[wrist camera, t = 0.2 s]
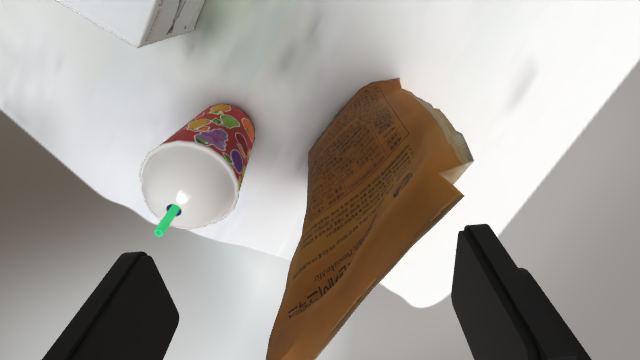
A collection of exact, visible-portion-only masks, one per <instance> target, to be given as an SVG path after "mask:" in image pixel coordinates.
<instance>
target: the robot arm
mask: <svg viewBox="0 0 640 360" xmlns="http://www.w3.org/2000/svg"><path fill="white" fill-rule="evenodd" d="M451 297H452V304H453V307H454V310H455V312H456V315H457V317H458V319H459V322H460V324H461V327H462V330H463V332H464V334H465V337H466V339H467V342H468V344H469V347H470V350H471V352H472V355H473V357H474V359H475V360H591V359H590V357H589V355H588V354H587V352H586V351H585V350H584V348H583V347H582V346H581V344H580V343H579V341H578V340H577V338H576V337H575V336H574V334H573V333H572V331H571V330H570V329H569V327H568V326H567V324H566V323H565V322H564V321H563V319H562V317H561V316H560V315H559V313H558V312H557V310H556V309H555V307H554V306H553V305H552V303H551V302H550V300H549V299H548V298H547V296H546V295H545V293H544V292H543V291H542V289H541V288H540V286H539V285H538V284H537V282H536V281H535V280H534V278H533V277H532V275H531V274H530V273H529V272H528V271H527V270H526V269H524V268H518V267H517V266H516V265H515V263H514V262H513V260H512V259H511V257H510V256H509V254H508V253H507V251H506V250H505V248H504V247H503V245H502V244H501V243H500V241H499V240H498V238H497V237H496V235H495V234H494V232H493V231H492V229H491V228H490V226H489V225H487V224H479V225H467V226H465V228H464V231H459V233H458V240H457V249H456V258H455V267H454V275H453V284H452V293H451ZM178 322H179V313H178V311H177V309H176V307H175V304H174V303H173V300H172V298H171V296H170V294H169V292H168V290H167V288H166V286H165V284H164V281H163V279H162V277H161V275H160V273H159V271H158V269H157V267H156V265H155V263H154V261H153V259H152V257H151V256H148V255H147V254H146V253H145V252H130V253H124V254H122V255H121V256H120V257H119V258H118V260H117V261H116V262H115V263H114V265H113V266H112V267H111V269H110V270H109V271H108V273H107V274H106V275H105V277H104V278H103V280H102V281H101V282H100V283H99V285H98V286H97V287H96V289H95V290H94V292H93V293H92V294H91V295H90V297H89V298H88V299H87V301H86V302H85V303H84V305H83V306H82V307H81V308H80V310H79V311H78V312H77V314H76V315H75V317H74V318H73V319H72V320H71V322H70V323H69V324H68V326H67V327H66V328H65V330H64V331H63V332H62V334H61V335H60V336H59V338H58V339H57V340H56V342H55V343H54V344H53V346H52V347H51V348H50V350H49V351H48V352H47V354H46V355H45V356H44V358H43V359H42V360H163V358H164V356H165V354H166V351H167V349H168V347H169V344H170V342H171V340H172V337H173V335H174V333H175V330H176V328H177V326H178Z"/></svg>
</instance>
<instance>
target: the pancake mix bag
mask: <svg viewBox="0 0 640 360" xmlns="http://www.w3.org/2000/svg"><path fill="white" fill-rule="evenodd" d="M473 161H474V160H473V157H472V155H471V153H470V150H469V148H468V145H467V143H466V141H465V139H464V137H463V135H462V134H461V133H459V132H457V131H456V130H455V129H454V127H453V126H452V124H451V123H450V122H449V120H448V119H447V118H446V117H445V115H444V114H443V113H442V112H441V111H440V110H439V109H436V108H433V107H432V105H431V104H429V103H427V102H425V101H423V100H422V99H420V98H418V97H416V96H415V95H414V94H413V93H412V92H410V91H407V90H404V89H401V84H400V79H399V78H397V79H392V80H386V81H377V82H372V83H370V84H368V85H367V86H365V87H363V88H361V89H360V90H359V91H358V92H357V93H356V95H355V96H354V97H353V98H352V99H351V100H350V102H349V103H348V104H347V105H346V106H345V107H344V108H343V109H342V110H341V112H340V113H339V114H338V115H337V117H336V118H335V119H334V120H333V122H332V123H331V124H330V125H329V127H328V128H327V129H326V131H325V132H324V133H323V134H322V136H321V137H320V138H319V140H318V141H317V142H316V144H315V145H314V146H313V147H312V149H311V150H310V151H309V156H308V167H309V171H308V189H307V209H306V214H305V219H304V224H303V231H302V236H301V239H300V242H299V244H298V246H297V249H296V251H295V253H294V256H293V258H292V261H291V264H290V268H289V272H288V277H287V283H286V289H285V292H284V296H283V299H282V303H281V306H280V309H279V311H278V314H277V317H276V320H275V323H274V326H273V329H272V332H271V335H270V339H269V344H268V351H267V355H266V360H315V359H316V358H317V357H318V356H319V354H320V353H321V352H322V351H323V350H324V348H325V347H326V346H327V345H328V344H329V342H330V341H331V340H332V339H333V337H334V336H335V335H336V334H337V332H338V331H339V330H340V329H341V327H342V326H343V325H344V324H345V322H346V321H347V320H348V318H349V317H350V316H351V314H352V313H353V312H354V311H355V309H356V308H357V307H358V306H359V305H360V303H361V302H362V301H363V300H364V299H365V297H366V296H367V295H368V294H369V293H370V292H371V290H372V289H373V288H374V287H375V286H376V285H377V284H378V283H379V282H380V281H381V280H382V279H383V278H384V277H385V276H386V275H387V274H388V273H389V272H390V270H391V269H392V268H393V267H394V266H395V265H396V264H397V263H398V262H399V260H400V259H401V258H402V257H403V256H404V255H405V254H406V253H407V251H408V250H409V249H410V248H411V247H412V246H413V245H414V244H415V243H416V242H417V241H418V240H419V239H420V238H421V237H423V236H424V235H425V234H426V233H427V232H428V231H429V230H430V229H431V228H432V227H433V226H434V225H435V224H437V223H438V222H439V221H440V220H441V219H442V218H443V217H444V216H445V215H446V214H447V213H448V212H449V211H450V210H451V209H452V208H453V207H454V206H455V205H456V204H457V203H458V202H459V201H460V200H461V199H462V198H463V197H464V195H463V194H462V193H461V192H460V191H459V190H458V189H457V188H456V187H454V186H453V184H454V183H455V182H456V181H457V180H458V179H459V177H460V176H461V175H462V174H463V173H464V172H465V171H466V169H467V168H468V167H469V166H470V165H471V164H472V163H473Z"/></svg>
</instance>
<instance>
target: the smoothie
mask: <svg viewBox="0 0 640 360" xmlns="http://www.w3.org/2000/svg"><path fill="white" fill-rule="evenodd" d="M254 139H255V130H254V127H253V125H252V122H251V121H250V119H249V118H248V117H247V115H246V114H245V113H243V112H242V111H241V110H239V109H238V108H235V107H233V106H230V105H222V104H218V105H214V106H210V107H209V108H207V109H206V110H204V111H203V112H202V113H201V114H199V115H198V116H197V117H195V118H194V119H193V120H192V121H190V122H189V123H188V124H187V125H185V126H184V127H183V128H181V129H180V130H179V131H178V132H176V133H175V134H174V135H172V136H171V137H170V138H169V139H167V140H166V141H165V142H163V143H162V144H161V145H160V146H158V147H157V148H155V149H153V150H152V151H150V152H149V153H148V155H147V156H146V158H145V159H144V161H143V162H142V165H141V170H140V181H141V189H142V193H143V198H144V201H145V203H146V205H147V207H148V208H149V210H150V211H151V212H152V213H153V214H154V215H155V216H156V217H157V218H158V219H159V220H160V221H161V222H160V223H159V225H158V226H157V228H156V229H155V231H154V234H155V235H156V236H159V237H161V236H162V235H163V234H164V233H165V231H166V230H167V228H168V227H169V225H170V226H173V227H176V228H180V229H195V228H200V227H205V226H207V225H209V224H213V223H216V222H218V221H220V220H222V219H224V218H226V217H227V216H228V215H229V214H230V213H231V212H232V210H233V209H234V208H235V205H236V203H237V200H238V197H239V190H240V187H241V183H242V180H243V177H244V173H245V170H246V166H247V163H248V160H249V156H250V153H251V149H252V146H253V143H254Z"/></svg>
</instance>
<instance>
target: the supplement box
mask: <svg viewBox="0 0 640 360" xmlns="http://www.w3.org/2000/svg"><path fill="white" fill-rule="evenodd" d="M56 1H57V2H59V3H61V4H63V5H64V6H66V7H68V8H70V9H72V10H73V11H75V12H77V13H78V14H80V15H82V16H83V17H85V18H87V19H89V20H90V21H92V22H94V23H95V24H97V25H99V26H100V27H102V28H104V29H105V30H107V31H109V32H111V33H112V34H114V35H116V36H117V37H119V38H121V39H122V40H124V41H126V42H128V43H129V44H131V45H133V46H135V47H137V48H139V47H142V46H145V45H148V44H152V43H155V42H158V41H161V40H164V39H167V38H170V37H174V36H177V35H180V34H183V33H186V32H189V31H192V30H194V28H195V25H196V22H197V19H198V17H199V14H200V12H201V9H202V7H203V4H204V2H205V0H56Z"/></svg>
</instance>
